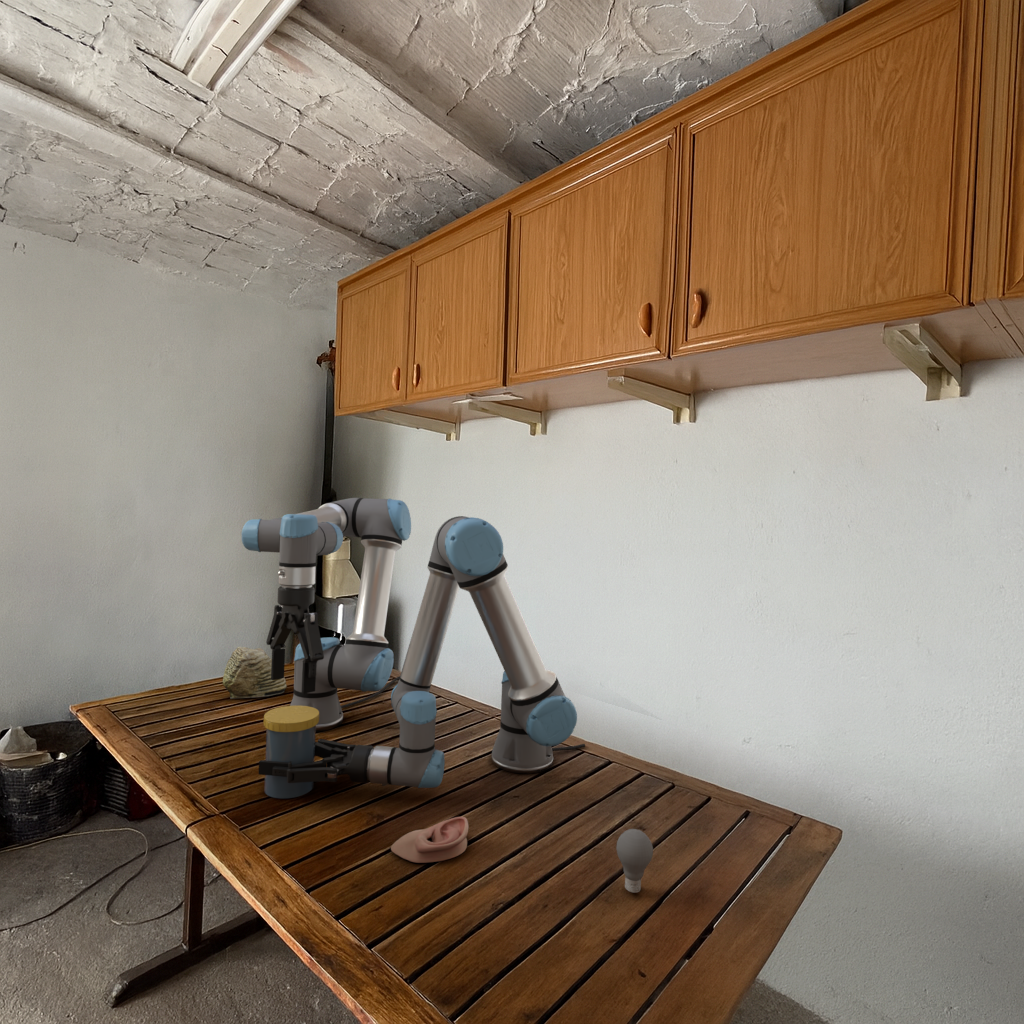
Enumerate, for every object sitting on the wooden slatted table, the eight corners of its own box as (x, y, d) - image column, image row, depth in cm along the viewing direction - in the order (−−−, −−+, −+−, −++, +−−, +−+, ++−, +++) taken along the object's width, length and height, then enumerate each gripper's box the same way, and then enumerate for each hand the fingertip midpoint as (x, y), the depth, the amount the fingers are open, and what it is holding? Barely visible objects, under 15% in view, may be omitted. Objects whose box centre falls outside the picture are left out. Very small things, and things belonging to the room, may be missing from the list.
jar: (318, 792, 136) (321, 720, 135) (268, 802, 130) (271, 727, 130) (307, 774, 144) (310, 705, 144) (260, 782, 139) (263, 711, 139)
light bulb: (610, 879, 108) (613, 822, 108) (644, 879, 109) (647, 822, 109) (619, 902, 102) (622, 840, 102) (655, 901, 103) (658, 840, 103)
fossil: (218, 695, 195) (220, 647, 195) (278, 685, 208) (279, 640, 207) (228, 703, 189) (230, 653, 188) (289, 692, 201) (290, 645, 201)
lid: (324, 727, 135) (325, 718, 135) (268, 735, 129) (269, 726, 129) (312, 711, 145) (312, 702, 145) (259, 718, 139) (259, 709, 139)
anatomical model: (384, 835, 112) (408, 805, 123) (383, 857, 112) (407, 825, 123) (456, 847, 109) (474, 815, 120) (455, 869, 109) (473, 836, 121)
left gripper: (252, 580, 142) (248, 676, 142) (311, 594, 126) (306, 702, 126) (284, 578, 147) (280, 670, 148) (343, 591, 131) (339, 695, 131)
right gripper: (354, 807, 125) (244, 798, 126) (385, 760, 147) (292, 753, 149) (355, 769, 125) (246, 761, 126) (386, 728, 147) (293, 721, 149)
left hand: (292, 685), depth 137 cm, fingers open, 12 cm apart
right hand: (271, 756), depth 137 cm, fingers closed on jar, 10 cm apart
